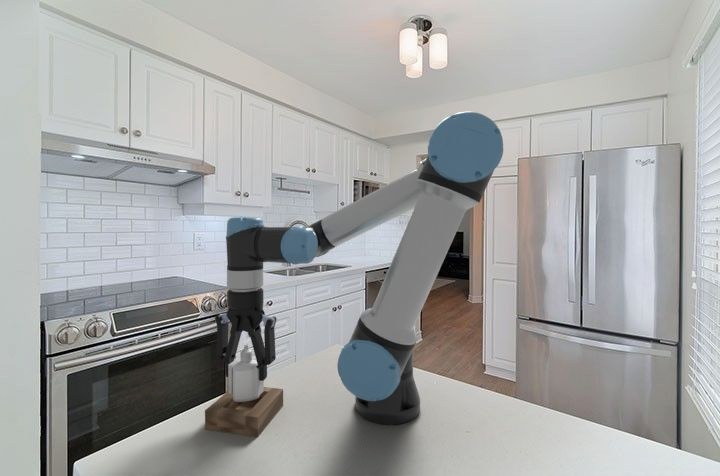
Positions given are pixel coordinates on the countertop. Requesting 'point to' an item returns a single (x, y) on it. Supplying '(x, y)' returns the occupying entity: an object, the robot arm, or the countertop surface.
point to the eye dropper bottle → (244, 377)
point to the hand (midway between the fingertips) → (246, 392)
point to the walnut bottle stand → (244, 413)
